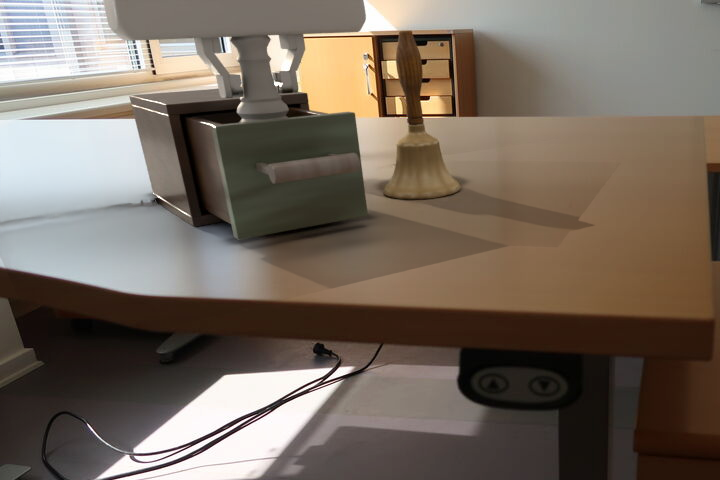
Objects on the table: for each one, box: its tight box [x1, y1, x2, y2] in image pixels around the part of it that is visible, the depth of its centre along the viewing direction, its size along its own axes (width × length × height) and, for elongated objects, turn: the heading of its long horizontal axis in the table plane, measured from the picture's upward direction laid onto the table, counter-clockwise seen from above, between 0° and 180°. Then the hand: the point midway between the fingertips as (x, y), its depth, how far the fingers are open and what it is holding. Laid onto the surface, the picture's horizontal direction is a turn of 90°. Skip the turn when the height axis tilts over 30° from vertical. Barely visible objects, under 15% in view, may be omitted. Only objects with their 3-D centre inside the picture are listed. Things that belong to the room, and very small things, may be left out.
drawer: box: [180, 106, 369, 241], centre depth 65 cm, size 18×12×9 cm, turn 38°
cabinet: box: [128, 86, 311, 228], centre depth 75 cm, size 15×13×11 cm
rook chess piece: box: [229, 35, 289, 123], centre depth 63 cm, size 4×4×8 cm
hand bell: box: [383, 30, 461, 200], centre depth 77 cm, size 8×8×16 cm
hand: (260, 95), depth 63 cm, fingers closed on rook chess piece, 3 cm apart
